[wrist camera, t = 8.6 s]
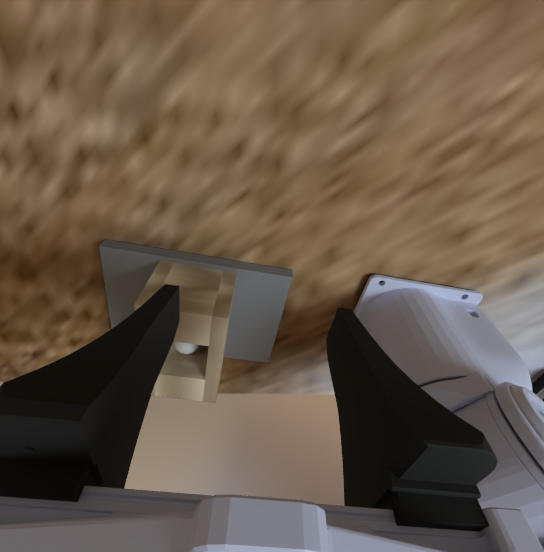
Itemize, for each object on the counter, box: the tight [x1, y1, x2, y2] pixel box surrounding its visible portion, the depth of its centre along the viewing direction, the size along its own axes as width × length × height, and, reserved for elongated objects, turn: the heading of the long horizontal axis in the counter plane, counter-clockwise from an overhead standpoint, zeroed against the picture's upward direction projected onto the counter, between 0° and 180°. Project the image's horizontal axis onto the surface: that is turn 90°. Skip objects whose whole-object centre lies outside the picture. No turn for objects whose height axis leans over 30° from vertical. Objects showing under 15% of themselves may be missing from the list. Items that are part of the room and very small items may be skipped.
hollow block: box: [134, 260, 237, 403], centre depth 23 cm, size 6×9×5 cm, turn 169°
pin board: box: [99, 239, 292, 363], centre depth 24 cm, size 14×10×5 cm
